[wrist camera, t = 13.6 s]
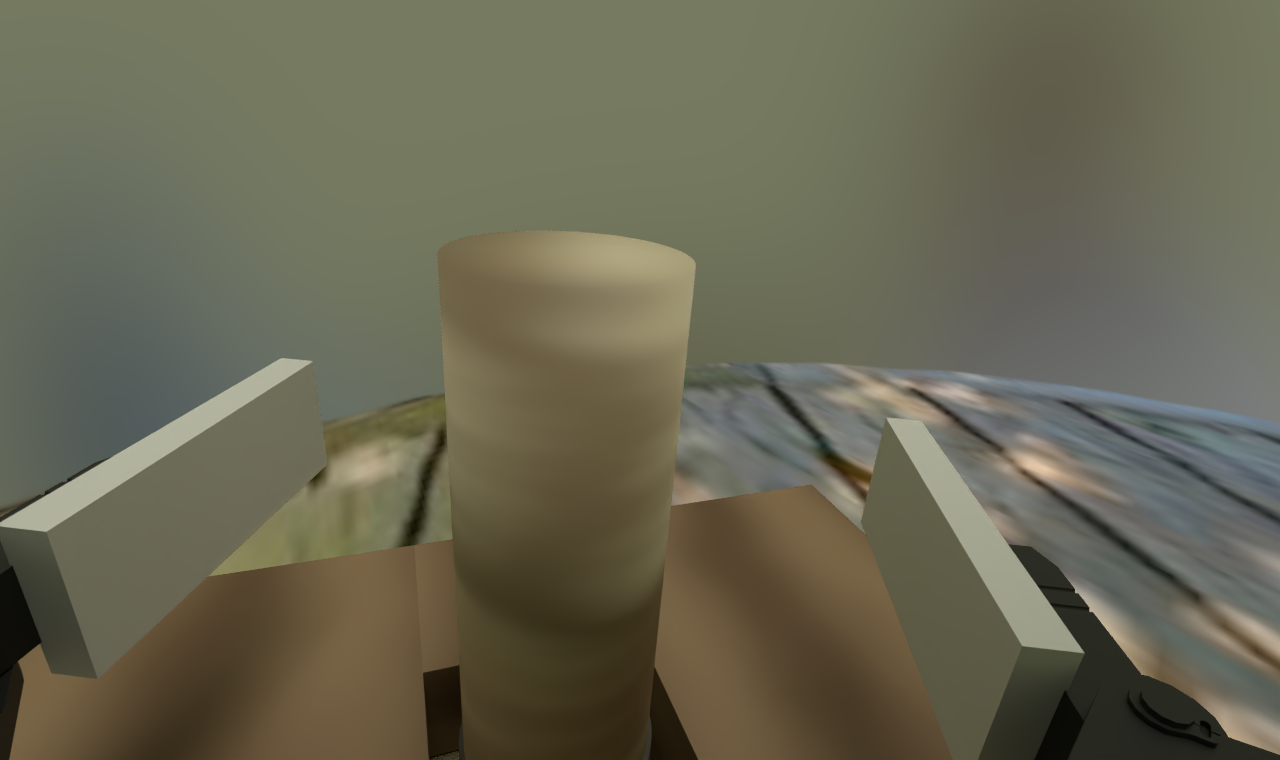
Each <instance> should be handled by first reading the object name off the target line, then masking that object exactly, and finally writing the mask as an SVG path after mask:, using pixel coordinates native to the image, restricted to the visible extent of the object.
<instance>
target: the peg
mask: <svg viewBox="0 0 1280 760" xmlns="http://www.w3.org/2000/svg"><path fill="white" fill-rule="evenodd" d="M695 268H696V264H695V261H694V260H693V259H692V258H691V257H690V256H688V255H686V254H685V253H683V252H681V251H679V250H676V249H673V248H670V247H667V246H664V245H660V244H657V243H653V242H649V241H644V240H639V239H634V238H628V237H621V236H614V235H606V234H597V233H586V232H571V231H570V232H569V231H512V232H498V233H488V234H481V235H475V236H470V237H465V238H461V239H457V240H454V241H451V242H449V243H447V244H445V245H443V246H442V247H441V248H440V249H439V250H438V271H439V290H440V309H441V327H442V345H443V365H444V383H445V403H446V422H447V441H448V459H449V478H450V497H451V516H452V535H453V554H454V572H455V591H456V610H457V629H458V648H459V667H460V685H461V704H462V724H461V727H460V733H459V760H649V757H650V747H651V738H652V728H651V720H650V714H649V713H650V703H651V694H652V684H653V674H654V665H655V655H656V645H657V636H658V626H659V616H660V607H661V597H662V587H663V578H664V568H665V558H666V549H667V539H668V529H669V520H670V510H671V500H672V491H673V481H674V471H675V462H676V452H677V442H678V433H679V423H680V413H681V404H682V394H683V384H684V375H685V365H686V355H687V345H688V335H689V326H690V317H691V316H690V315H691V307H692V297H693V287H694V277H695Z"/></svg>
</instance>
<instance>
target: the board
mask: <svg viewBox="0 0 1280 760" xmlns="http://www.w3.org/2000/svg"><path fill="white" fill-rule="evenodd" d="M18 662H19V665H20V667H21V670H22V673H23V677H24V684H23V690H22V695H21V700H20V706H19V711H18V716H17V722H16V727H15V732H14V738H13V743H12V748H11V754H10V759H9V760H430V757H432V756H436V755H440V754H443V753H447V752H451V751H455V750H459V733H460V727H461V724H462V704H461V685H460V667H459V648H458V629H457V610H456V591H455V572H454V554H453V540H446V541H439V542H433V543H426V544H420V545H413V546H407V547H400V548H394V549H387V550H380V551H374V552H367V553H361V554H354V555H348V556H341V557H335V558H328V559H321V560H315V561H308V562H302V563H295V564H289V565H282V566H276V567H269V568H262V569H256V570H249V571H243V572H236V573H230V574H223V575H217V576H210V577H207V578H206V579H204V580H203V581H202V582H201V583H200V584H199V585H198V586H197V587H196V588H195V589H194V590H193V591H192V592H191V593H189V594H188V595H187V596H186V597H185V598H184V599H183V600H182V601H181V602H180V603H179V604H178V605H177V606H176V607H175V608H173V609H172V610H171V611H170V612H169V613H168V614H167V615H166V616H165V617H164V618H163V619H162V620H161V621H160V622H159V623H157V624H156V625H155V626H154V627H153V628H152V629H151V630H150V631H149V632H148V633H147V634H146V635H145V636H144V637H143V638H141V639H140V640H139V641H138V642H137V643H136V644H135V645H134V646H133V647H132V648H131V649H130V650H129V651H128V652H127V653H125V654H124V655H123V656H122V657H121V658H120V659H119V660H118V661H117V662H116V663H115V664H114V665H113V666H112V667H111V668H109V669H108V670H107V671H106V672H105V673H104V674H103V675H102V676H101V677H100V678H99V679H92V678H84V677H77V676H69V675H61V674H54V673H51V671H50V668H49V666H48V663H47V661H46V658H45V655H44V653H43V650H42V648H41V645H40V644H39V645H38V646H36V647H35V648H34V649H33V650H31V651H30V652H29V653H28V654H26V655H25V656H24V657H23V658H21V659H20V660H19V661H18ZM649 714H650V720H651V728H652V738H651V747H650V758H651V760H952V757H951V754H950V752H949V749H948V747H947V744H946V741H945V739H944V736H943V734H942V731H941V728H940V726H939V723H938V721H937V718H936V715H935V713H934V710H933V708H932V705H931V702H930V700H929V697H928V695H927V692H926V689H925V687H924V684H923V682H922V679H921V676H920V674H919V671H918V669H917V666H916V663H915V661H914V658H913V656H912V653H911V650H910V648H909V645H908V643H907V640H906V637H905V635H904V632H903V630H902V627H901V624H900V622H899V619H898V617H897V614H896V611H895V609H894V606H893V604H892V601H891V598H890V596H889V593H888V591H887V588H886V585H885V583H884V580H883V578H882V575H881V572H880V570H879V567H878V565H877V562H876V559H875V557H874V554H873V552H872V549H871V546H870V544H869V541H868V539H867V536H866V535H865V534H864V533H863V532H862V531H861V530H860V529H859V528H858V527H857V526H855V525H854V524H853V523H852V522H851V521H850V520H849V519H848V518H847V517H846V516H845V515H844V514H842V513H841V512H840V511H839V510H838V509H837V508H836V507H835V506H834V505H833V504H832V503H831V502H830V501H828V500H827V499H826V498H825V497H824V496H823V495H822V494H821V493H820V492H819V491H818V490H817V489H815V488H814V487H813V486H812V485H807V486H800V487H794V488H787V489H780V490H774V491H767V492H761V493H754V494H748V495H741V496H735V497H728V498H721V499H715V500H708V501H702V502H695V503H689V504H682V505H676V506H671V510H670V520H669V529H668V539H667V549H666V558H665V568H664V578H663V587H662V597H661V607H660V616H659V626H658V636H657V645H656V655H655V665H654V674H653V684H652V694H651V703H650V713H649Z"/></svg>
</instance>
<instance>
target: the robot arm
mask: <svg viewBox="0 0 1280 760" xmlns="http://www.w3.org/2000/svg"><path fill="white" fill-rule="evenodd" d="M326 465H327V457H326V450H325V443H324V436H323V428H322V421H321V414H320V407H319V400H318V393H317V385H316V379H315V371H314V364H313V361H304V360H295V359H285V358H281V359H279V360H278V361H276V362H274V363H273V364H271V365H269V366H267V367H266V368H264V369H262V370H261V371H259V372H257V373H255V374H254V375H252V376H250V377H249V378H247V379H245V380H243V381H242V382H240V383H238V384H236V385H235V386H233V387H231V388H230V389H228V390H226V391H225V392H223V393H221V394H219V395H218V396H216V397H214V398H212V399H211V400H209V401H207V402H206V403H204V404H202V405H200V406H199V407H197V408H195V409H194V410H192V411H190V412H188V413H187V414H185V415H184V416H182V417H180V418H178V419H177V420H175V421H173V422H171V423H170V424H168V425H166V426H164V427H163V428H161V429H160V430H158V431H156V432H154V433H152V434H151V435H149V436H147V437H146V438H144V439H142V440H141V441H139V442H137V443H135V444H134V445H132V446H130V447H128V448H127V449H125V450H123V451H122V452H120V453H118V454H116V455H115V456H112V457H110V458H107V459H105V460H102V461H99V462H96V463H94V464H92V465H90V466H89V467H87V468H85V469H83V470H82V471H80V472H78V473H76V474H75V475H73V476H72V477H69V478H68V479H67V482H61V483H59V484H57V485H56V486H54V487H52V488H50V489H49V490H47V491H45V494H44V495H38V496H36V497H35V498H33V499H31V500H30V501H28V502H26V503H24V504H23V505H21V506H19V507H17V508H16V509H14V510H12V511H10V512H9V513H7V514H5V515H4V516H2V517H0V760H9V759H10V754H11V748H12V743H13V738H14V732H15V727H16V722H17V716H18V711H19V706H20V700H21V695H22V690H23V684H24V677H23V673H22V670H21V667H20V665H19V662H18V661H19V660H20V659H21V658H23V657H24V656H25V655H26V654H28V653H29V652H30V651H31V650H33V649H34V648H35V647H36V646H38V645H39V644H40V645H41V648H42V650H43V653H44V655H45V658H46V661H47V663H48V666H49V668H50V671H51V673H54V674H61V675H69V676H77V677H84V678H92V679H99V678H100V677H101V676H102V675H103V674H104V673H105V672H106V671H107V670H108V669H109V668H111V667H112V666H113V665H114V664H115V663H116V662H117V661H118V660H119V659H120V658H121V657H122V656H123V655H124V654H125V653H127V652H128V651H129V650H130V649H131V648H132V647H133V646H134V645H135V644H136V643H137V642H138V641H139V640H140V639H141V638H143V637H144V636H145V635H146V634H147V633H148V632H149V631H150V630H151V629H152V628H153V627H154V626H155V625H156V624H157V623H159V622H160V621H161V620H162V619H163V618H164V617H165V616H166V615H167V614H168V613H169V612H170V611H171V610H172V609H173V608H175V607H176V606H177V605H178V604H179V603H180V602H181V601H182V600H183V599H184V598H185V597H186V596H187V595H188V594H189V593H191V592H192V591H193V590H194V589H195V588H196V587H197V586H198V585H199V584H200V583H201V582H202V581H203V580H204V579H206V578H207V577H208V576H209V575H210V574H211V573H212V572H213V571H214V570H215V569H216V568H217V567H218V566H219V565H220V564H222V563H223V562H224V561H225V560H226V559H227V558H228V557H229V556H230V555H231V554H232V553H233V552H234V551H235V550H236V549H238V548H239V547H240V546H241V545H242V544H243V543H244V542H245V541H246V540H247V539H248V538H249V537H250V536H251V535H252V534H254V533H255V532H256V531H257V530H258V529H259V528H260V527H261V526H262V525H263V524H264V523H265V522H266V521H267V520H268V519H270V518H271V517H272V516H273V515H274V514H275V513H276V512H277V511H278V510H279V509H280V508H281V507H282V506H283V505H284V504H286V503H287V502H288V501H289V500H290V499H291V498H292V497H293V496H294V495H295V494H296V493H297V492H298V491H299V490H300V489H302V488H303V487H304V486H305V485H306V484H307V483H308V482H309V481H310V480H311V479H312V478H313V477H314V476H315V475H316V474H318V473H319V472H320V471H321V470H322V469H323V468H324V467H325V466H326ZM861 523H862V526H863V528H864V531H865V533H866V536H867V539H868V541H869V544H870V546H871V549H872V552H873V554H874V557H875V559H876V562H877V565H878V567H879V570H880V572H881V575H882V578H883V580H884V583H885V585H886V588H887V591H888V593H889V596H890V598H891V601H892V604H893V606H894V609H895V611H896V614H897V617H898V619H899V622H900V624H901V627H902V630H903V632H904V635H905V637H906V640H907V643H908V645H909V648H910V650H911V653H912V656H913V658H914V661H915V663H916V666H917V669H918V671H919V674H920V676H921V679H922V682H923V684H924V687H925V689H926V692H927V695H928V697H929V700H930V702H931V705H932V708H933V710H934V713H935V715H936V718H937V721H938V723H939V726H940V728H941V731H942V734H943V736H944V739H945V741H946V744H947V747H948V749H949V752H950V754H951V757H952V760H1280V755H1278V754H1275V753H1272V752H1269V751H1267V750H1264V749H1261V748H1258V747H1255V746H1252V745H1249V744H1246V743H1243V742H1240V741H1237V740H1235V739H1232V738H1229V737H1228V736H1227V734H1226V732H1225V731H1224V730H1223V728H1222V727H1221V725H1220V724H1219V723H1218V721H1217V720H1216V718H1215V717H1214V716H1213V715H1211V714H1210V713H1209V712H1208V711H1207V710H1206V709H1205V708H1203V707H1202V706H1201V705H1200V704H1199V703H1198V702H1197V701H1195V700H1194V699H1192V698H1191V697H1189V696H1188V695H1186V694H1184V693H1183V692H1181V691H1179V690H1178V689H1176V688H1174V687H1173V686H1171V685H1169V684H1166V683H1164V682H1161V681H1159V680H1156V679H1154V678H1151V677H1149V676H1145V675H1141V673H1140V672H1139V671H1138V670H1137V668H1136V667H1135V666H1134V664H1133V663H1132V662H1131V661H1130V659H1129V658H1128V657H1127V655H1126V654H1125V653H1124V652H1123V650H1122V649H1121V648H1120V646H1119V645H1118V644H1117V643H1116V641H1115V640H1114V639H1113V637H1112V636H1111V635H1110V634H1109V632H1108V631H1107V630H1106V628H1105V627H1104V626H1103V625H1102V623H1101V622H1100V621H1099V619H1098V618H1097V617H1096V616H1095V614H1094V613H1093V612H1089V607H1088V605H1087V604H1086V603H1085V601H1084V600H1083V599H1082V598H1081V596H1080V595H1079V594H1077V593H1075V589H1074V587H1073V586H1072V585H1071V583H1070V582H1069V581H1068V580H1067V578H1066V577H1065V576H1064V574H1063V573H1062V572H1061V571H1060V569H1059V568H1058V567H1057V566H1056V565H1054V564H1053V563H1052V562H1050V561H1049V560H1048V559H1046V558H1045V557H1044V556H1042V555H1041V554H1040V553H1038V552H1037V551H1036V550H1034V549H1033V548H1032V547H1028V546H1019V545H1010V544H1007V542H1006V541H1005V539H1004V538H1003V537H1002V535H1001V534H1000V532H999V531H998V529H997V528H996V527H995V525H994V524H993V522H992V521H991V520H990V518H989V517H988V515H987V514H986V512H985V511H984V510H983V508H982V507H981V505H980V504H979V502H978V501H977V500H976V498H975V497H974V495H973V494H972V493H971V491H970V490H969V488H968V487H967V485H966V484H965V483H964V481H963V480H962V478H961V477H960V475H959V474H958V473H957V471H956V470H955V468H954V467H953V466H952V464H951V463H950V461H949V460H948V458H947V457H946V456H945V454H944V453H943V451H942V450H941V449H940V447H939V446H938V444H937V443H936V441H935V440H934V439H933V437H932V436H931V434H930V433H929V431H928V430H927V429H926V427H925V426H924V424H923V423H922V422H921V421H915V420H904V419H894V418H886V419H885V424H884V428H883V432H882V436H881V440H880V445H879V449H878V453H877V457H876V461H875V465H874V470H873V474H872V478H871V482H870V486H869V490H868V495H867V499H866V503H865V507H864V511H863V516H862V520H861Z"/></svg>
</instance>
